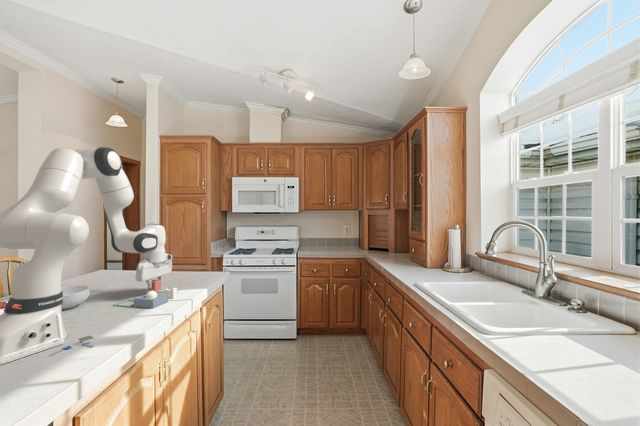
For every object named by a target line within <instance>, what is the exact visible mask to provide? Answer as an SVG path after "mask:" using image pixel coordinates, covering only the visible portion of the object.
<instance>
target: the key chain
mask: <svg viewBox="0 0 640 426" xmlns="http://www.w3.org/2000/svg"><path fill="white" fill-rule="evenodd" d="M92 339H95V337H93V336H92V335H86V336H83V337H79V338H78V342H75V343H74V342H73V343H70V344H69V345H68V346H65V347H62V348H61V349H60V350H58V351H56V352H53V353H51V354H49V355H48V357H51V356H53V355H55V354H57V353H60V352H62V351H64V350H68V349H73V348H74V347H72V346H71V345H74V346H77V345H78V346H82V347H89V348H93V347H94V346H95V344H91V342H89V341H88V340H92ZM85 341H88V342H85Z"/></svg>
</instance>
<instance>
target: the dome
mask: <svg viewBox="0 0 640 426" xmlns="http://www.w3.org/2000/svg"><path fill="white" fill-rule="evenodd" d="M146 293H147V294H146ZM146 293H145V294H146V298H155V297H157V293H156V292H155V291H147V292H146Z"/></svg>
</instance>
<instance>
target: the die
mask: <svg viewBox="0 0 640 426" xmlns="http://www.w3.org/2000/svg"><path fill="white" fill-rule="evenodd" d="M163 292H164V294H168V300H174V299H176V298H177V297H178V288H177V287H167V288H165V289H164V290H163Z"/></svg>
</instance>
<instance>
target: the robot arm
mask: <svg viewBox="0 0 640 426" xmlns="http://www.w3.org/2000/svg"><path fill="white" fill-rule="evenodd" d="M122 166H123V163H122V158H121V156H120V155H119V153H118V152H117V151H116V150H115V149H113V148H111V147H104V146H103V147H93V148H80V149H76V150H74V149H71V148H67V147H59V148H55V149H53V150H52V151H50V153H48V155H47V156H46V157H45V159H44V161H42V164H41V165H40V167H39V168H38V169H39V170H38V171H37V173H36V176H35V178H34V180H33V182H32V184H31V186H30V187H29V189H28V191H27V192H26V193H25V194H24V195H23V196H22V197H21V198H20V199H19V200H18V201H17V202H15V203H14V204H12V205H11V206H10V207H9V208H6V209H5V210H3V211H1V212H0V248H3V249H9V250H29V249H30V250H31V249H33V250H34V251H33V255H32V257H31V258H30V260H28V261H26V262H24V263H21V264H20V265H18V266H17V267H16V268H15V269H14V270H13V272H12V274H11V297H10V298H9V300H8V301H7V302H6V301H0V310H3V313H2V314H0V365H3V364H7V363H10V362H13V361H16V360H19V359H22V358H26V357H28V356H30V355H33V354H36V353H40V352H42V351H45V350H48V349H51V348H55V347H57V346H60V345H63V344H64V343H65V339H66V338H67V337H68V333H67V330H66V328H65V323H64V319H63V310H62V309H61V306H62V303H63V292H62V291H61V287H62V281H63V279H62V278H63V270H64V266H65V263H66V261H67V259H68V257H69V256H70V255H71V254H72V252H74V251H75V250H76V249H77V248H78V247H81V246H82V245H83V244H84V243H85V242H86V241H87V239H88V237H89V234H90V225H89V224H88V221H87V220H86V219H85V218H84V217H83V216H80V215H75V214H71V213H65V212H58V211H60V210H63V209H65V208H67V207H69V206H70V205H72V204H73V202H74V201H75V198H76V194H77V192H78V191H79V187H80V184H81V181H82V180H85V179H95V182H96V183H97V187H98V190H99V192H100V195H101V197H102V201H103V212H104V215H105V219H106V222H107V225H108V229H109V232H110V241H111V246H112V248H113V250H114V251H116V252H117V253H123V254H124V253H125V254H126V253H128V254H129V253H130V254H143V255H144V259H143V260H140V261H139V262H138V264H137V267H136V271H135V280H136V282H145V283H146V285H147V289H148V288H149V289H150V288H153V284H152V283H151V281H152V280H154V279H155V278H156V279H157V280H161V282H162V281H163V278H164V276H166V275H169V274H171V273H172V270H173V261H172V260H173V255H172V254H169V253H166V249H165V246H166V241H167V238H166V237H167V235H166V233H167V232H166V229H165V227H164V226H163V225H162V224H158V223H147V224H146V225H145V227H143V228H142V229H139V230H138V231H131V230H130V229H128V228H127V226H126V222H125V219H124V215H123V211H124V209H125V208H127V207H128V206H130V205H131V204H132V203H133V201H134V198H135V196H134V190H133V188H132V185H131V183H130V180H129V178H128V176H127V175H126V172H125V170H124V169H123V168H122Z"/></svg>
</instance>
